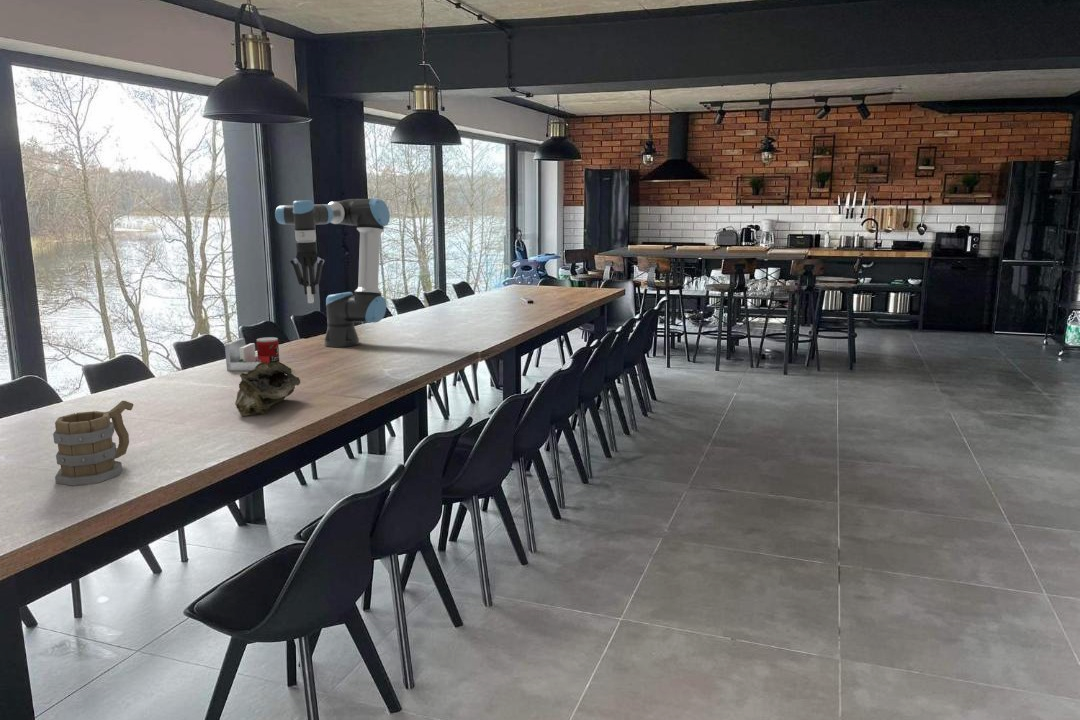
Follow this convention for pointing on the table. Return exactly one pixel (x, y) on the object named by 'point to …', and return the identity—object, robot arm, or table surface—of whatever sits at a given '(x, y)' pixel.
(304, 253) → the robot arm
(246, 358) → the white flat block
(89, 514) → the table surface
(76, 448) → the tankard
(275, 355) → the canned food
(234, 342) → the frame
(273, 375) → the hollow geode rock
